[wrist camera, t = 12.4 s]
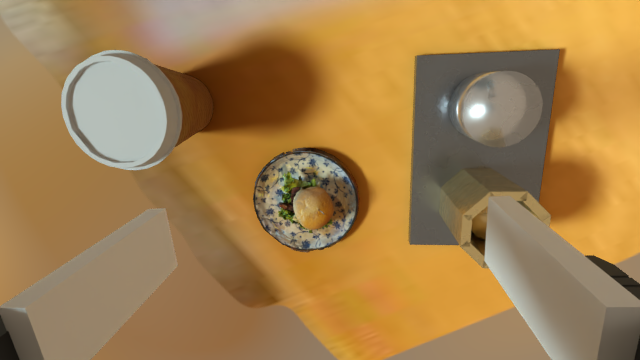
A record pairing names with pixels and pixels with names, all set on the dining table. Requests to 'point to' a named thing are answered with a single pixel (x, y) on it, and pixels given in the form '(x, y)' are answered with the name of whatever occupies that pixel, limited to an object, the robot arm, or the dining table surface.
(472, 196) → the sleeve
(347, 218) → the burger
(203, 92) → the disposable coffee cup
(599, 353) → the robot arm
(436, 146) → the plate
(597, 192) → the dining table surface
